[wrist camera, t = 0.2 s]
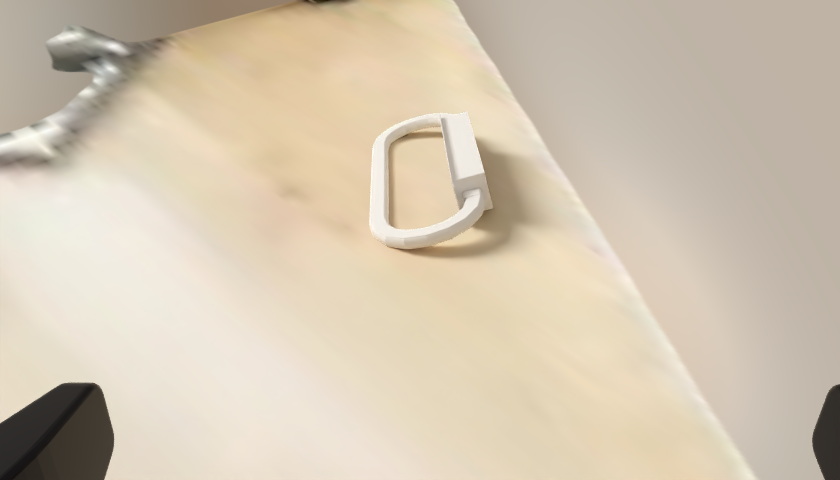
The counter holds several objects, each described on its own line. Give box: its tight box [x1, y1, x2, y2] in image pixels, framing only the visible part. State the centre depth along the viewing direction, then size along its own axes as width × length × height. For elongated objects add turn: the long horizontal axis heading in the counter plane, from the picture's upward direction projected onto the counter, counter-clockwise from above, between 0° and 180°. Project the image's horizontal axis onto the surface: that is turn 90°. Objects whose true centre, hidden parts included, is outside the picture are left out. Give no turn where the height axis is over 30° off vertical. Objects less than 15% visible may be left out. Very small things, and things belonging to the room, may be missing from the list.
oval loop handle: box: [369, 111, 493, 249], centre depth 51 cm, size 20×8×4 cm, turn 2°
